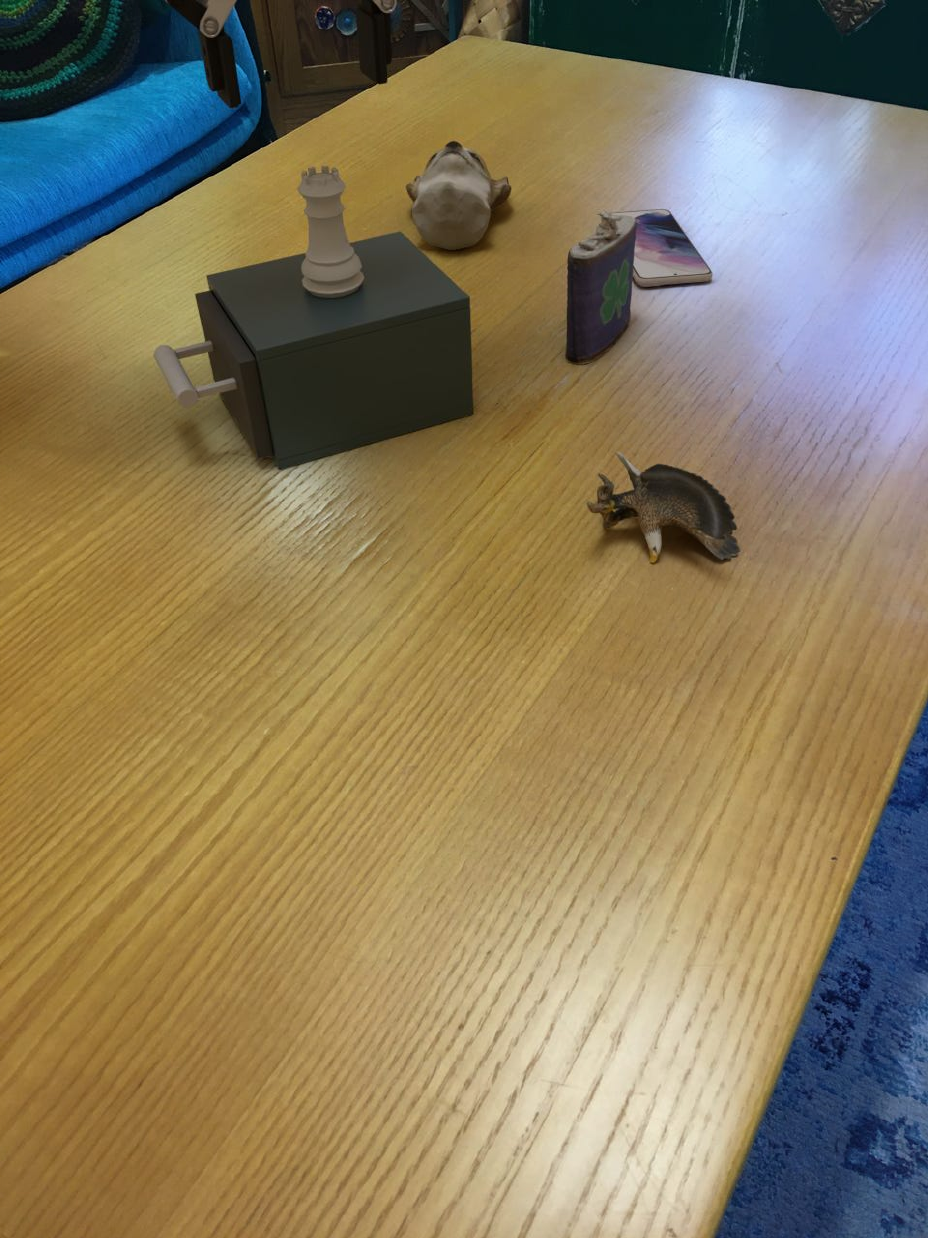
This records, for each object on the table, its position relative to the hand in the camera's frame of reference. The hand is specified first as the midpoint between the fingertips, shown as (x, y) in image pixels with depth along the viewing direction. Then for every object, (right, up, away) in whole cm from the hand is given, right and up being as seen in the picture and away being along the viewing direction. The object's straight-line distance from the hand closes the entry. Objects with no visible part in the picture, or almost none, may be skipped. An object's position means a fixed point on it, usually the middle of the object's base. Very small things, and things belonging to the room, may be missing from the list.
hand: (303, 89), depth 67 cm
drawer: (-2, -17, +14) cm, 22 cm away
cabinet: (+1, -17, +16) cm, 23 cm away
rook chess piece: (+1, -10, +9) cm, 13 cm away
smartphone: (+28, +1, +33) cm, 44 cm away
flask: (+21, -10, +22) cm, 32 cm away
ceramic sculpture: (+9, +5, +39) cm, 40 cm away
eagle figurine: (+23, -29, +2) cm, 37 cm away
